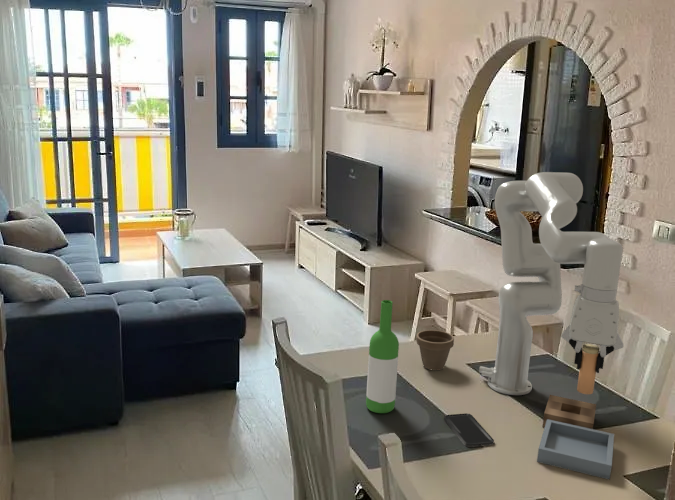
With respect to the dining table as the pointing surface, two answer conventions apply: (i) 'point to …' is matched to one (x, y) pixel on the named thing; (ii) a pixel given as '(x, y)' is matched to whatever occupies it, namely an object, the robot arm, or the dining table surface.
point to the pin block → (570, 412)
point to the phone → (468, 430)
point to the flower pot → (434, 348)
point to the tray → (576, 448)
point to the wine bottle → (382, 364)
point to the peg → (587, 369)
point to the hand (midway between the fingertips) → (588, 368)
